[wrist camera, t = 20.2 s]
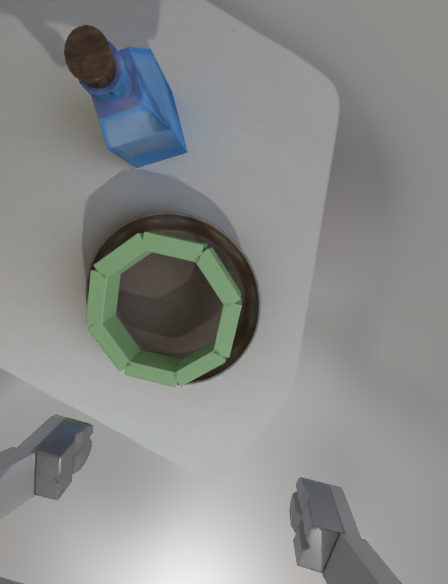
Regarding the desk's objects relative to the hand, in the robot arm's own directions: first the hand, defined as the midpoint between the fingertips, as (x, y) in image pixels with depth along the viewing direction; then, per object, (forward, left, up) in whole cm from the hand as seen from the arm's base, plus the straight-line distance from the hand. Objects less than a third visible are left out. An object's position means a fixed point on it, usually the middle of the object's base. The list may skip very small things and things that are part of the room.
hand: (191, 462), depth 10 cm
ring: (+7, +1, -18) cm, 19 cm away
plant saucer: (+7, +1, -23) cm, 24 cm away
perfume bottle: (+13, -18, -23) cm, 32 cm away
